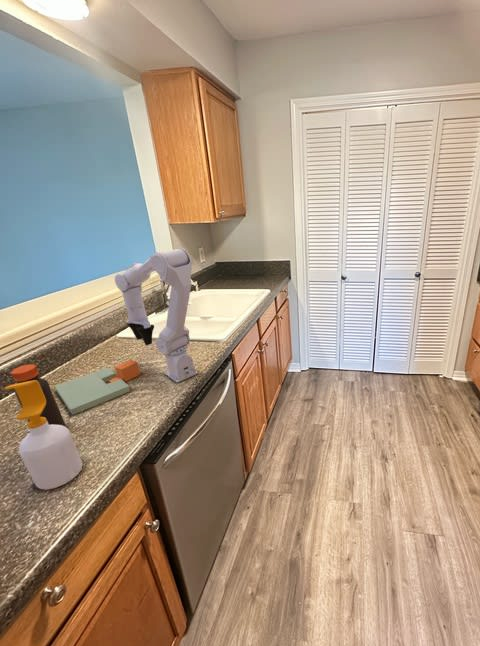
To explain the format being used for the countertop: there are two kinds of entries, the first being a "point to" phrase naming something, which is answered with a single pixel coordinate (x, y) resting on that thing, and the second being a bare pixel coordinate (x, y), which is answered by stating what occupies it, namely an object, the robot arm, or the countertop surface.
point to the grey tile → (91, 390)
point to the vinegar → (51, 408)
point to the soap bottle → (45, 441)
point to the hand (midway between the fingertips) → (144, 341)
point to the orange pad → (126, 371)
